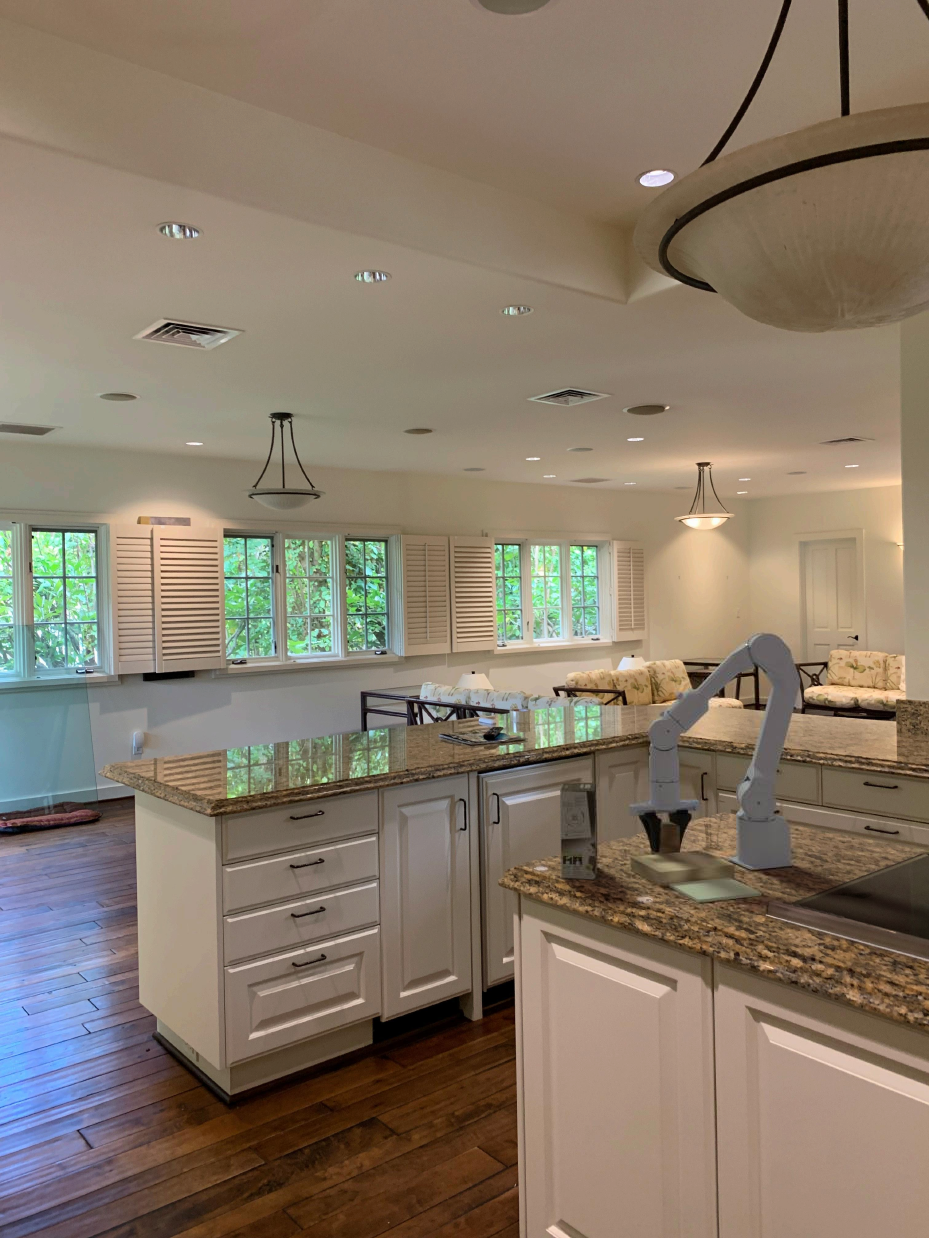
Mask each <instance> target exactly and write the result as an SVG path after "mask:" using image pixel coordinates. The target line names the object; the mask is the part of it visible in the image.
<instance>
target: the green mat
mask: <svg viewBox="0 0 929 1238" xmlns="http://www.w3.org/2000/svg"><path fill="white" fill-rule="evenodd" d="M668 887H669V888H671V889H673V890H674V891H677V893H680V894H682V895H684V897H685V896H686V897H687V898H689V899H690V900H692V901H694V900H695V902H696V903H699V904H700V903H701V902H702V903H709V902H718V900H719V901H727V900H732V899H734V900H735V899H742V898H751V897H752V898H753V897H760V896H762V891H759V890H757V889H755V888H753V887H751V886H748V885H746V884H744V883H742V882H740V881H737V880H736V879H732V878H729V877H727V878H718V879H708V880H699V881H690V882H681V883H672V884H669V886H668Z"/></svg>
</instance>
